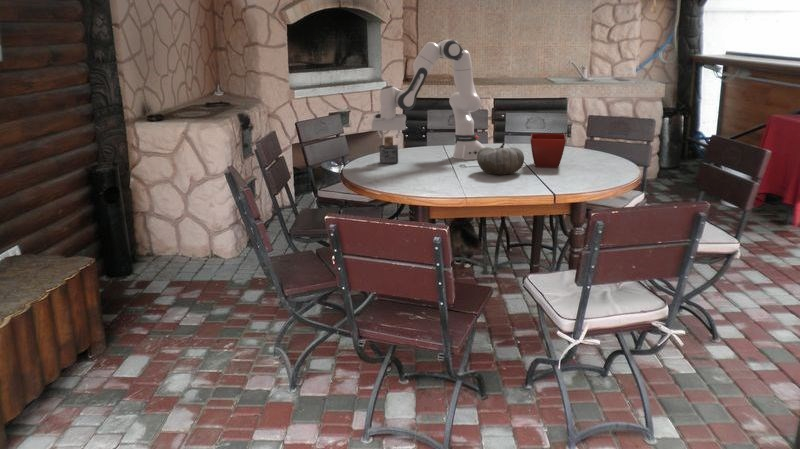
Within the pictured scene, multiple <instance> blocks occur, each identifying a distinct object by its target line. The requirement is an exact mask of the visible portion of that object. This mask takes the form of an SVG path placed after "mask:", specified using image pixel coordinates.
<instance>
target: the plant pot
mask: <svg viewBox="0 0 800 449" xmlns="http://www.w3.org/2000/svg"><path fill="white" fill-rule="evenodd" d="M566 140H567V139H566V134H565V133H537V132H536V133H533V132H532V133H531V134H530V145H531V146H530V148H531V153H532V154H531V155H532V160H533V164H534V167H535V168H551V169H553V168H556V169H557V168H559V167H560V165H561V161H562V159H563V155H564V150H565V146H566Z"/></svg>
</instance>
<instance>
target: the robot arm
mask: <svg viewBox="0 0 800 449" xmlns="http://www.w3.org/2000/svg"><path fill="white" fill-rule="evenodd" d="M439 59H444V60H451V61H452V64H453V66H452V69H453V81H454V82H453V83H454V85H455V87H456V88H457V90H458V92H457V91H456V92H454V93H452V94H451V95H450V97H449V99H448V100H449V102H448V103H449V105H450V107H451V109H452V112H453V116H454V122H455V134H454V151H453V156H452V158H453V159H456V160H457V159H458V160H462V161H463V160H464V161H469V160H470V161H471V160H477V155H478V151H479V150H480V149H481V148H484V147H486V146H485V145H484V144H482V143H481V142H480V141H478V139H479V136H478V135H477V134H475V120H474V119H473V117H472V114H471V113H474V112H478V110H479V109H480V108H481V107H482V98H480V96H479V95H478V93H477V91H476V90H477V89H476V86H475V83H474V76H473V74H474V73H473V62H472V58H471V54H470V52H469V51H468V50H466V49H463V47H462V46H461V44H460V43H459V42H458V41H457V40H454V39H450V38H449V39H442V40H439V41H438V42H433V41H428V42H427V43H425V45H424V46H423V47H422V49H421V50H420V51H419V53H418V55H417V56H416V57H415V60H414V62H413V65H412V68H413V69H412V70H413V73H414V74H413V78H412V80H411V82H410V84H409V86H408V87H407V90H401V89H399V88H397V87H395V86H394V85H387V86H383V87H382V88H381V89H380V93H379V94H380V96H379V97H380V98H379V100H380V101H379V102H380V111H378V112H374V113H373V114H372V117H373V118H372V121H371V131H373V132H377V134H378V136H379V139H383V135H382V134H381V131H382V132H383V131H384V132H387V131H397V134H395V138H396V139H398V138H399V135H400V133H401V131H405V130H406V129H407V126H406V121H407V116H406V114H404V113H397V111H396V110H397V109H396V108H400V109H401V110H403V111H410V110H412V109H413V108H414V107H415V106H416V103H417V98H418V94H419V92H420V90H421V88H422V87H423V85H424V83H425V81H426V79H427V77H428V75H429V74H430V73H431V71H432V69H433V68H434V66H435V64H436V63H437V61H438V60H439Z"/></svg>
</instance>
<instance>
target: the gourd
mask: <svg viewBox="0 0 800 449" xmlns="http://www.w3.org/2000/svg"><path fill="white" fill-rule="evenodd" d="M505 144H506V143H505V142H502V144H501V145H500V146H499V147H490V146H485V147H484V148H481V149H480V150H479V151H478V155H477V159H476V161H477V164H478V166H479V168H480V169H481V171H483V172H484V173H489V174H495V175H496V176H505V175H509V174H513V173H516V172H518V171H519V170H520V169H521V168H522V167H523V166H524V164H525V155H524V153H523V151H522V149H520V148H518V147H516V146H515V147H514V146H513V147H504V146H505Z"/></svg>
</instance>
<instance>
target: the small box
mask: <svg viewBox="0 0 800 449" xmlns="http://www.w3.org/2000/svg"><path fill="white" fill-rule="evenodd" d="M378 148H379V165H387V164H388V165H393V164H394V165H397V164H398V163H399V144H393V146H385V145H384V144H381V145H379V147H378Z"/></svg>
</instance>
